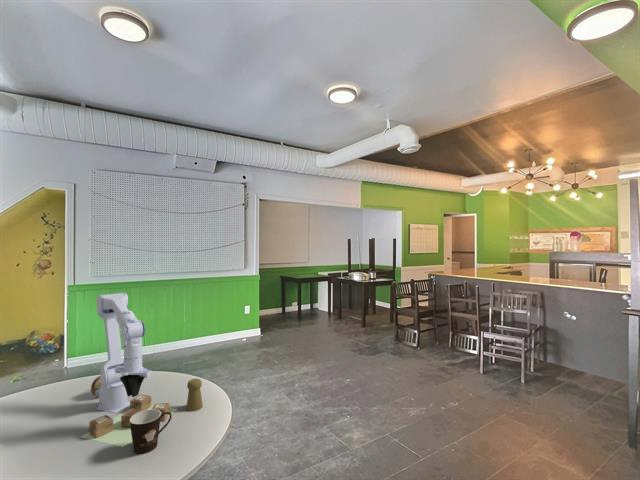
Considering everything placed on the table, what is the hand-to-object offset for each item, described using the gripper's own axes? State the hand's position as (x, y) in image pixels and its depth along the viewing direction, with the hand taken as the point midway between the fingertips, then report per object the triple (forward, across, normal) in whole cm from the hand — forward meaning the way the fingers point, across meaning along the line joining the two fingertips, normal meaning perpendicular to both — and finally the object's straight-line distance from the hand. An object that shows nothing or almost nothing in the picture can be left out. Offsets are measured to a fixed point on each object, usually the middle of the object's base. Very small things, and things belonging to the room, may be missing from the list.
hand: (133, 395), depth 114 cm
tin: (+11, -31, +17) cm, 37 cm away
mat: (+10, -1, +1) cm, 10 cm away
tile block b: (+10, +6, +6) cm, 13 cm away
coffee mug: (+11, +16, -8) cm, 21 cm away
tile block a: (+10, -6, -7) cm, 14 cm away
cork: (+11, +13, +16) cm, 23 cm away
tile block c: (+10, -6, +9) cm, 15 cm away
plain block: (+10, 0, 0) cm, 10 cm away
